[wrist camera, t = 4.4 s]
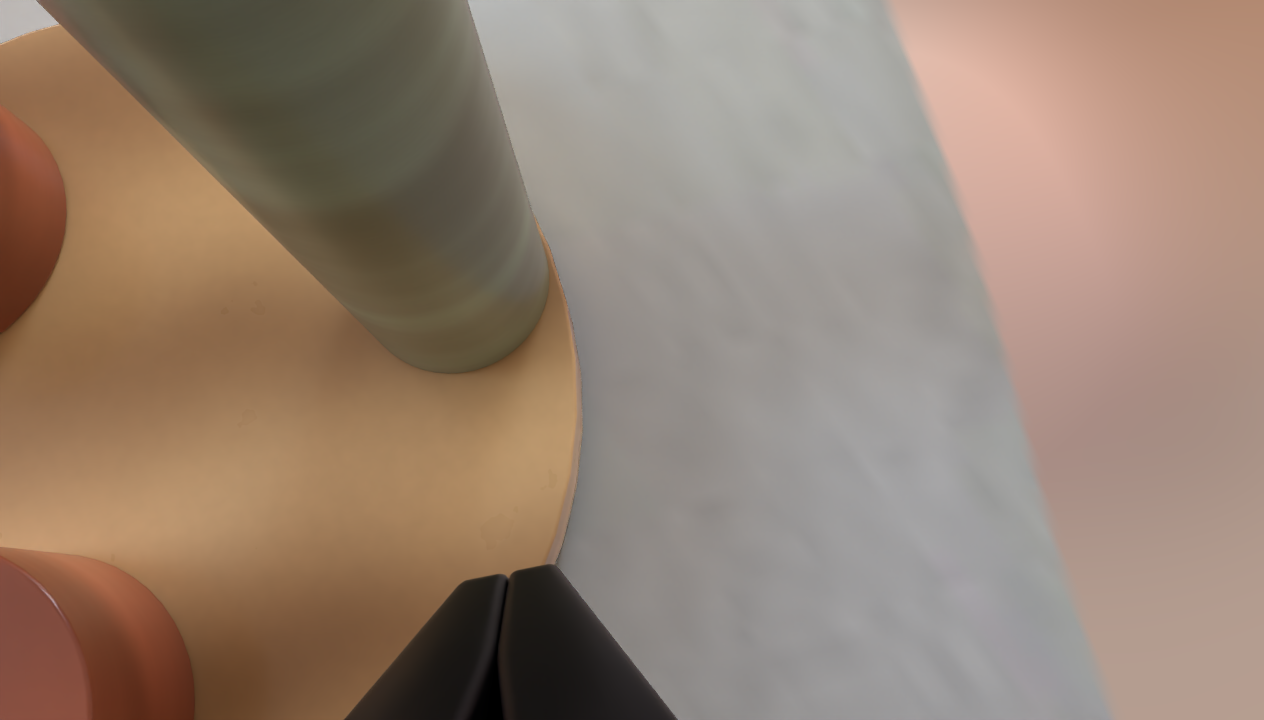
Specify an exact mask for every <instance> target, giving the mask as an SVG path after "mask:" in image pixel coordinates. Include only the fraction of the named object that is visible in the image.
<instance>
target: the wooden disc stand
mask: <svg viewBox="0 0 1264 720" xmlns="http://www.w3.org/2000/svg"><path fill="white" fill-rule="evenodd" d="M36 1H37V2H38V3H39V4H40V5H41V6H42V7H43V8H44V9H45V10H46V11H47V12H48V13H49V14H50V15H51V16H52V17H53V18H54V19H55V20H56V21H57V22H58V23H59V24H58V25H54V26H51V27H47V28H43V29H40V30H36V31H33V32H29V33H26V34H24V35H21V36H19V37H16V38H14V39H11V40H9V41H6V42H4V43H1V44H0V720H344V719H345V718H346V716H347V715H348V714H349V713H350V712H351V710H352V709H353V708H354V707H355V706H356V705H357V703H358V702H359V701H360V700H361V699H362V698H363V696H364V695H365V694H366V693H367V692H368V690H369V689H370V688H371V687H372V686H373V685H374V683H375V682H376V681H377V680H378V679H379V678H380V676H381V675H382V674H383V673H384V672H385V671H386V669H387V668H388V667H389V666H390V665H391V663H392V662H393V661H394V660H395V659H396V658H397V656H398V655H399V654H400V653H401V652H402V651H403V649H404V648H405V647H406V646H407V645H408V644H409V642H410V641H411V640H412V639H413V638H414V636H415V635H416V634H417V633H418V632H419V631H420V629H421V628H422V627H423V626H424V625H425V624H426V622H427V621H428V620H429V619H430V618H431V617H432V615H433V614H434V613H435V612H436V611H437V609H438V608H439V607H440V606H441V605H442V604H443V602H444V601H445V600H446V599H447V598H448V597H449V595H450V594H451V593H452V592H453V591H454V590H455V588H456V587H457V586H458V585H459V584H461V583H462V582H463V581H465V580H469V579H474V578H479V577H485V576H490V575H495V574H504V575H506V576H507V577H508V578H509V577H510V575H511V574H512V573H513V572H514V571H516V570H520V569H525V568H530V567H535V566H541V565H546V564H553V565H555V562H556V560H557V557H558V554H559V552H560V549H561V546H562V544H563V541H564V538H565V533H566V529H567V525H568V521H569V516H570V512H571V508H572V504H573V500H574V495H575V491H576V487H577V480H578V471H579V461H580V451H581V442H582V432H583V418H582V385H581V370H580V364H579V358H578V352H577V346H576V340H575V334H574V328H573V322H572V319H571V316H570V312H569V309H568V305H567V302H566V298H565V295H564V292H563V289H562V286H561V282H560V279H559V276H558V273H557V270H556V266H555V263H554V260H553V257H552V253H551V250H550V248H549V246H548V244H547V241H546V239H545V237H544V235H543V233H542V231H541V229H540V227H539V224H538V222H537V220H536V218H535V216H534V214H533V212H532V208H531V205H530V202H529V199H528V195H527V192H526V189H525V186H524V182H523V179H522V176H521V173H520V170H519V166H518V163H517V160H516V157H515V153H514V150H513V147H512V144H511V140H510V137H509V134H508V131H507V127H506V124H505V121H504V118H503V114H502V111H501V108H500V105H499V101H498V98H497V95H496V92H495V88H494V85H493V82H492V79H491V75H490V72H489V69H488V66H487V62H486V59H485V56H484V53H483V49H482V46H481V43H480V40H479V36H478V33H477V30H476V27H475V24H474V20H473V17H472V14H471V11H470V7H469V4H468V1H467V0H36Z"/></svg>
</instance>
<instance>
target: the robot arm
mask: <svg viewBox="0 0 1264 720" xmlns="http://www.w3.org/2000/svg"><path fill="white" fill-rule="evenodd" d="M344 720H678V719H677V718H676V717H675V716H674V714H673V713H672V712H671V711H670V709H669V708H668V707H667V705H666V704H665V703H664V702H663V700H662V699H661V698H660V697H659V695H658V694H657V693H656V691H655V690H654V689H653V688H652V686H651V685H650V684H649V683H648V681H647V680H646V679H645V677H644V676H643V675H642V674H641V672H640V671H639V670H638V669H637V667H636V666H635V665H634V663H633V662H632V661H631V660H630V658H629V657H628V656H627V655H626V653H625V652H624V651H623V650H622V648H621V647H620V646H619V644H618V643H617V642H616V641H615V639H614V638H613V637H612V636H611V634H610V633H609V632H608V630H607V629H606V628H605V627H604V625H603V624H602V623H601V622H600V620H599V619H598V618H597V616H596V615H595V614H594V613H593V611H592V610H591V609H590V608H589V606H588V605H587V604H586V602H585V601H584V600H583V599H582V597H581V596H580V595H579V594H578V592H577V591H576V590H575V589H574V587H573V586H572V585H571V583H570V582H569V581H568V580H567V578H566V577H565V576H564V575H563V573H562V572H561V571H560V569H559V568H558V567H556V566H555V565H553V564H546V565H541V566H535V567H530V568H525V569H520V570H516V571H514V572H513V573H512V574H511V575H510V577H509V578H508V577H507V576H506V575H504V574H495V575H490V576H485V577H479V578H474V579H469V580H465V581H463V582H462V583H461V584H459V585H458V586H457V587H456V588H455V590H454V591H453V592H452V593H451V594H450V595H449V597H448V598H447V599H446V600H445V601H444V602H443V604H442V605H441V606H440V607H439V608H438V609H437V611H436V612H435V613H434V614H433V615H432V617H431V618H430V619H429V620H428V621H427V622H426V624H425V625H424V626H423V627H422V628H421V629H420V631H419V632H418V633H417V634H416V635H415V636H414V638H413V639H412V640H411V641H410V642H409V644H408V645H407V646H406V647H405V648H404V649H403V651H402V652H401V653H400V654H399V655H398V656H397V658H396V659H395V660H394V661H393V662H392V663H391V665H390V666H389V667H388V668H387V669H386V671H385V672H384V673H383V674H382V675H381V676H380V678H379V679H378V680H377V681H376V682H375V683H374V685H373V686H372V687H371V688H370V689H369V690H368V692H367V693H366V694H365V695H364V696H363V698H362V699H361V700H360V701H359V702H358V703H357V705H356V706H355V707H354V708H353V709H352V710H351V712H350V713H349V714H348V715H347V716H346V718H345V719H344Z"/></svg>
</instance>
